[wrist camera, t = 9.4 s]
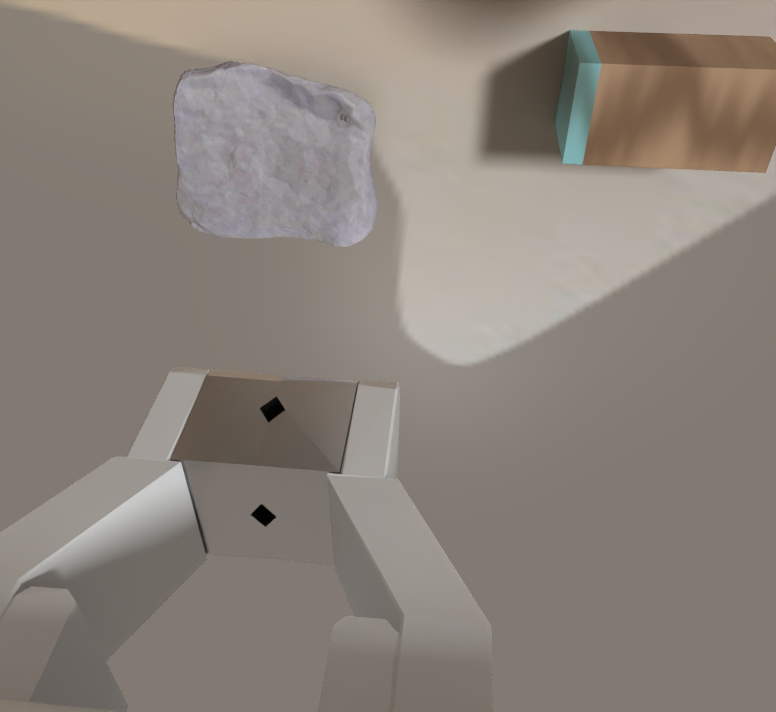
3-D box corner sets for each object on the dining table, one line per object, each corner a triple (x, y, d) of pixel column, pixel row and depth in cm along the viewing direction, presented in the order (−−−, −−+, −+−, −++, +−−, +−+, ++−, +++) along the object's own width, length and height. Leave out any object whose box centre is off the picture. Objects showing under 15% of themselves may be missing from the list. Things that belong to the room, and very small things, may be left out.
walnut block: (579, 62, 33) (803, 70, 33) (569, 30, 37) (769, 36, 37) (562, 163, 37) (765, 172, 36) (554, 124, 40) (738, 131, 40)
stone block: (181, 49, 42) (194, 216, 47) (153, 60, 38) (171, 242, 42) (385, 62, 42) (377, 229, 46) (381, 74, 37) (372, 256, 42)
